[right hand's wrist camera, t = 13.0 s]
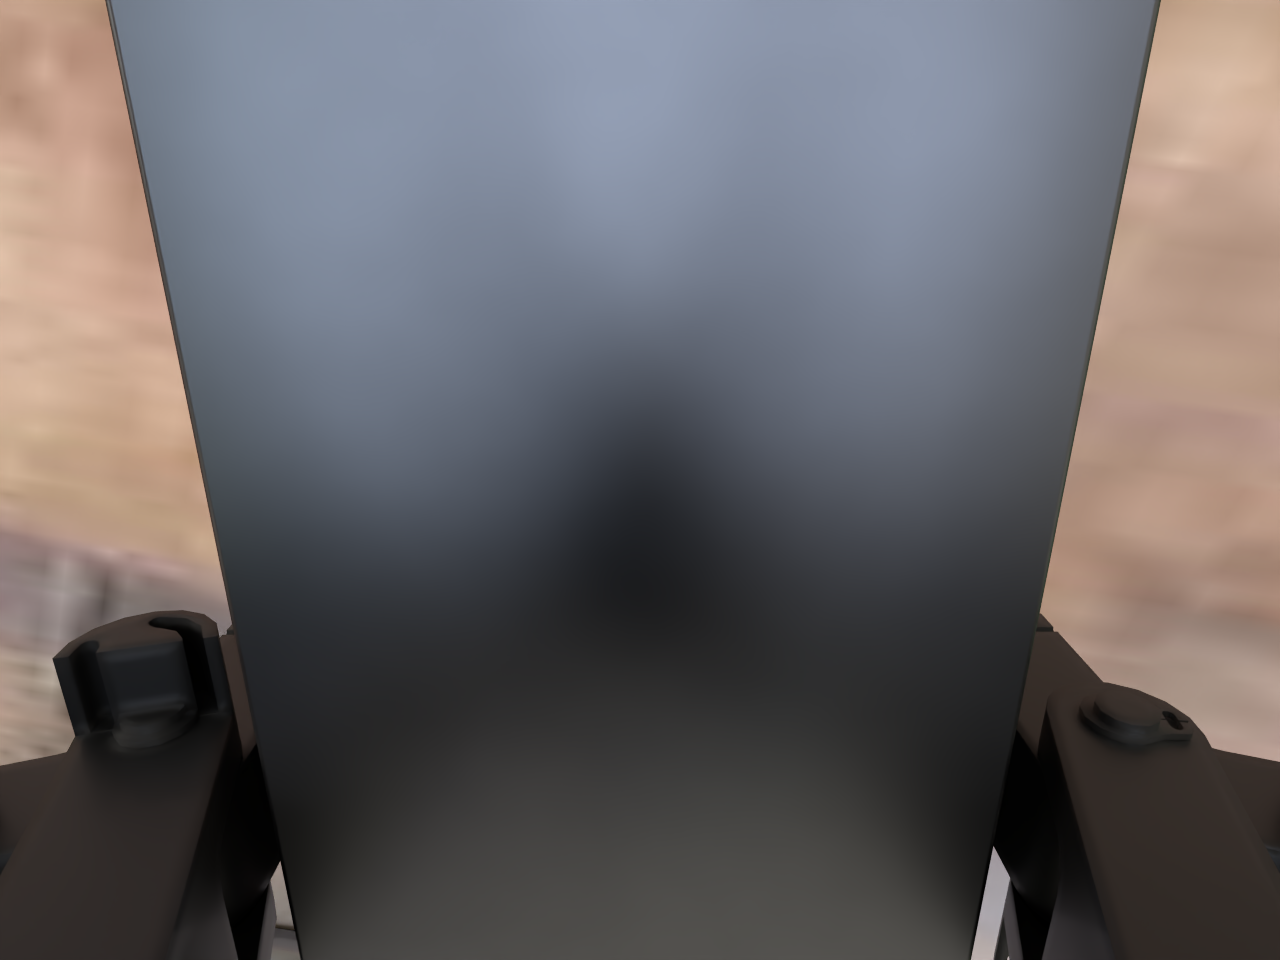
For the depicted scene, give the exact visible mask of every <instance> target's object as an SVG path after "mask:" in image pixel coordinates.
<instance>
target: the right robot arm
mask: <svg viewBox="0 0 1280 960" xmlns="http://www.w3.org/2000/svg"><path fill="white" fill-rule="evenodd" d="M53 662H54V665H55V669H56V672H57V676H58V679H59V682H60V686H61V689H62V692H63V696H64V699H65V703H66V706H67V709H68V713H69V716H70V720H71V723H72V726H73V730H74V733H75V738H74V740H73V742H72V744H71V745H70V747H69V749H68V751H67V752H66V753H62V754H58V755H53V756H48V757H43V758H38V759H33V760H28V761H23V762H18V763H13V764H7V765H2V766H0V960H301V959H300V954H299V949H298V944H297V939H296V935H295V931H291V930H285V929H277V928H275V925H276V918H277V917H276V909H275V901H274V896H273V891H272V886H271V882H270V879H271V878H272V876H273V874H274V872H275V870H276V868H277V866H278V864H279V862H280V856H279V851H278V846H277V841H276V836H275V831H274V826H273V822H272V817H271V812H270V807H269V802H268V797H267V792H266V787H265V782H264V777H263V772H262V767H261V763H260V758H259V753H258V748H257V743H256V738H255V733H254V728H253V723H252V718H251V713H250V709H249V704H248V699H247V694H246V689H245V684H244V679H243V674H242V669H241V664H240V659H239V654H238V650H237V645H236V640H235V635H234V630H233V625H231V626H230V627H229V628H228V629H227V634H226V635H222V636H221V637H220V638H219V633H218V628H217V623H216V622H214V621H213V620H211V619H210V618H209V617H207V616H206V615H204V614H200V613H194V612H189V611H184V610H179V611H157V612H151V613H146V614H141V615H136V616H131V617H126V618H123V619H120V620H117V621H114V622H112V623H109V624H106V625H103V626H100V627H98V628H95V629H93V630H91V631H89V632H87V633H86V634H84V635H82V636H80V637H79V638H77V639H75V640H73V641H71V642H70V643H68V644H67V645H66V646H65V647H64V648H63V649H62V650H61V651H60V652H59V653H58V654H57V655H56V656H55V657H54V658H53ZM993 846H994V847H995V849H996V851H997V853H998V855H999V857H1000V859H1001V861H1002V863H1003V865H1004V867H1005V868H1006V870H1007V872H1008V874H1009V876H1010V882H1009V886H1008V891H1007V896H1006V901H1005V905H1004V910H1003V915H1002V920H1001V925H1000V929H999V934H998V939H997V944H996V949H995V953H994V960H1007V958H1008V956H1009V959H1010V960H1280V762H1277V761H1272V760H1267V759H1262V758H1257V757H1251V756H1246V755H1241V754H1236V753H1231V752H1226V751H1221V750H1217V749H1214V748H1211V746H1210V744H1209V742H1208V740H1207V738H1206V736H1205V735H1204V734H1203V733H1202V731H1201V730H1200V729H1199V728H1198V727H1197V726H1196V724H1195V723H1194V722H1193V721H1192V720H1191V719H1190V718H1189V717H1188V716H1186V715H1185V714H1183V713H1182V712H1180V711H1179V710H1177V709H1176V708H1174V707H1173V706H1171V705H1170V704H1168V703H1167V702H1165V701H1163V700H1160V699H1158V698H1156V697H1153V696H1151V695H1149V694H1146V693H1144V692H1141V691H1139V690H1136V689H1132V688H1128V687H1124V686H1120V685H1115V684H1111V683H1104V682H1102V680H1101V679H1100V678H1099V677H1098V676H1097V675H1096V674H1095V673H1094V672H1093V670H1092V669H1091V668H1090V667H1089V666H1088V665H1087V664H1086V663H1085V662H1084V661H1083V659H1082V658H1081V657H1080V656H1079V655H1078V654H1077V653H1076V652H1075V651H1074V649H1073V648H1072V647H1071V646H1070V645H1069V644H1068V643H1067V642H1066V641H1065V640H1064V638H1063V637H1062V636H1061V635H1060V634H1059V633H1058V632H1054V631H1053V626H1052V625H1051V624H1050V623H1049V622H1048V621H1047V620H1046V619H1045V617H1044V616H1043V615H1042V614H1039V618H1038V623H1037V628H1036V633H1035V638H1034V643H1033V648H1032V653H1031V658H1030V663H1029V668H1028V673H1027V678H1026V683H1025V688H1024V694H1023V699H1022V704H1021V709H1020V714H1019V719H1018V724H1017V729H1016V734H1015V739H1014V744H1013V749H1012V754H1011V759H1010V764H1009V769H1008V774H1007V779H1006V784H1005V789H1004V794H1003V800H1002V805H1001V810H1000V815H999V820H998V825H997V830H996V835H995V840H994V845H993Z"/></svg>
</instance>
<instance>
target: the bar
mask: <svg viewBox="0 0 1280 960" xmlns="http://www.w3.org/2000/svg"><path fill="white" fill-rule="evenodd" d="M105 1H106V6H107V11H108V16H109V21H110V26H111V31H112V35H113V40H114V45H115V50H116V55H117V60H118V65H119V70H120V75H121V80H122V85H123V89H124V94H125V99H126V104H127V109H128V114H129V119H130V124H131V129H132V134H133V139H134V144H135V148H136V153H137V158H138V163H139V168H140V173H141V178H142V183H143V188H144V193H145V198H146V202H147V207H148V212H149V217H150V222H151V227H152V232H153V237H154V242H155V247H156V252H157V257H158V261H159V266H160V271H161V276H162V281H163V286H164V291H165V296H166V301H167V306H168V311H169V315H170V320H171V325H172V330H173V335H174V340H175V345H176V350H177V355H178V360H179V365H180V370H181V374H182V379H183V384H184V389H185V394H186V399H187V404H188V409H189V414H190V419H191V424H192V428H193V433H194V438H195V443H196V448H197V453H198V458H199V463H200V468H201V473H202V478H203V483H204V487H205V492H206V497H207V502H208V507H209V512H210V517H211V522H212V527H213V532H214V537H215V541H216V546H217V551H218V556H219V561H220V566H221V571H222V576H223V581H224V586H225V591H226V596H227V600H228V605H229V610H230V615H231V620H232V625H233V630H234V635H235V640H236V645H237V650H238V654H239V659H240V664H241V669H242V674H243V679H244V684H245V689H246V694H247V699H248V704H249V709H250V713H251V718H252V723H253V728H254V733H255V738H256V743H257V748H258V753H259V758H260V763H261V767H262V772H263V777H264V782H265V787H266V792H267V797H268V802H269V807H270V812H271V817H272V822H273V826H274V831H275V836H276V841H277V846H278V851H279V856H280V861H281V866H282V871H283V876H284V880H285V885H286V890H287V895H288V900H289V905H290V910H291V915H292V920H293V925H294V930H295V935H296V939H297V944H298V949H299V954H300V959H301V960H971V956H972V951H973V946H974V941H975V936H976V931H977V926H978V921H979V916H980V911H981V906H982V900H983V895H984V890H985V885H986V880H987V875H988V870H989V865H990V860H991V855H992V850H993V845H994V840H995V835H996V830H997V825H998V820H999V815H1000V810H1001V805H1002V800H1003V794H1004V789H1005V784H1006V779H1007V774H1008V769H1009V764H1010V759H1011V754H1012V749H1013V744H1014V739H1015V734H1016V729H1017V724H1018V719H1019V714H1020V709H1021V704H1022V699H1023V694H1024V688H1025V683H1026V678H1027V673H1028V668H1029V663H1030V658H1031V653H1032V648H1033V643H1034V638H1035V633H1036V628H1037V623H1038V618H1039V613H1040V608H1041V603H1042V598H1043V593H1044V588H1045V582H1046V577H1047V572H1048V567H1049V562H1050V557H1051V552H1052V547H1053V542H1054V537H1055V532H1056V527H1057V522H1058V517H1059V512H1060V507H1061V502H1062V497H1063V492H1064V487H1065V481H1066V476H1067V471H1068V466H1069V461H1070V456H1071V451H1072V446H1073V441H1074V436H1075V431H1076V426H1077V421H1078V416H1079V411H1080V406H1081V401H1082V396H1083V391H1084V386H1085V381H1086V375H1087V370H1088V365H1089V360H1090V355H1091V350H1092V345H1093V340H1094V335H1095V330H1096V325H1097V320H1098V315H1099V310H1100V305H1101V300H1102V295H1103V290H1104V285H1105V280H1106V275H1107V269H1108V264H1109V259H1110V254H1111V249H1112V244H1113V239H1114V234H1115V229H1116V224H1117V219H1118V214H1119V209H1120V204H1121V199H1122V194H1123V189H1124V184H1125V179H1126V174H1127V169H1128V163H1129V158H1130V153H1131V148H1132V143H1133V138H1134V133H1135V128H1136V123H1137V118H1138V113H1139V108H1140V103H1141V98H1142V93H1143V88H1144V83H1145V78H1146V73H1147V68H1148V62H1149V57H1150V52H1151V47H1152V42H1153V37H1154V32H1155V27H1156V22H1157V17H1158V12H1159V7H1160V2H1161V0H105Z"/></svg>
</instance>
